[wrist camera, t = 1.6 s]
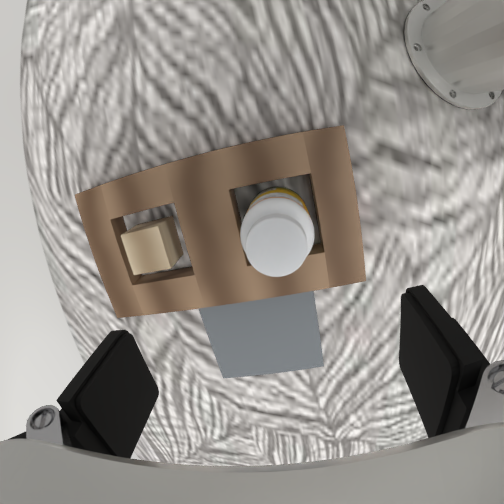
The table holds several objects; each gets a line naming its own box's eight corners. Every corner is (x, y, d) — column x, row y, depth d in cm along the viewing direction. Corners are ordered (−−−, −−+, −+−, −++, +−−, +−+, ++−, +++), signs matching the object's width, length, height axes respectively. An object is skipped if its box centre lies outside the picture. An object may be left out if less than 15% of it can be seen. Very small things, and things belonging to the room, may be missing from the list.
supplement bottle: (295, 250, 30) (301, 297, 21) (241, 232, 30) (223, 272, 20) (315, 197, 28) (332, 223, 19) (259, 178, 28) (248, 194, 19)
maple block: (172, 215, 30) (158, 226, 26) (183, 253, 31) (170, 268, 27) (138, 224, 30) (120, 235, 27) (149, 260, 32) (133, 275, 28)
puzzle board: (338, 127, 25) (343, 125, 23) (360, 270, 30) (366, 280, 27) (87, 190, 30) (74, 194, 27) (126, 307, 34) (117, 317, 31)
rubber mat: (312, 288, 31) (313, 290, 30) (323, 363, 34) (323, 366, 33) (199, 306, 33) (198, 308, 32) (224, 375, 36) (223, 378, 35)
